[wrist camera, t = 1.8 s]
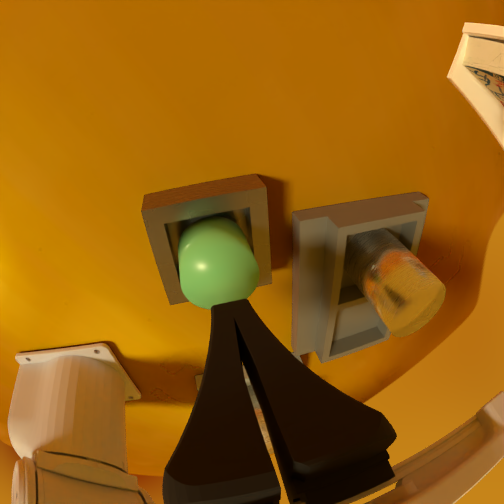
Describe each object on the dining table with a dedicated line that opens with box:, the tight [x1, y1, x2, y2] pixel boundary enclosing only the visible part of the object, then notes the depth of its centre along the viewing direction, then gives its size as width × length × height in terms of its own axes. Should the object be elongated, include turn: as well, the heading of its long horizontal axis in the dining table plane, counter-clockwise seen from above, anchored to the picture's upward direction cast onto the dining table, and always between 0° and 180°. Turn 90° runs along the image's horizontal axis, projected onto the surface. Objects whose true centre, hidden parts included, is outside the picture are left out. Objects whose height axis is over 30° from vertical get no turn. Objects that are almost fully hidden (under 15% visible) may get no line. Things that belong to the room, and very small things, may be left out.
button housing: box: [141, 174, 272, 305], centre depth 16 cm, size 6×6×2 cm
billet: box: [247, 385, 274, 454], centre depth 25 cm, size 4×4×6 cm
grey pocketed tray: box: [292, 192, 429, 363], centre depth 21 cm, size 10×13×3 cm
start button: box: [178, 216, 259, 309], centre depth 15 cm, size 4×4×3 cm
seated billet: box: [343, 228, 446, 337], centre depth 17 cm, size 4×4×6 cm
